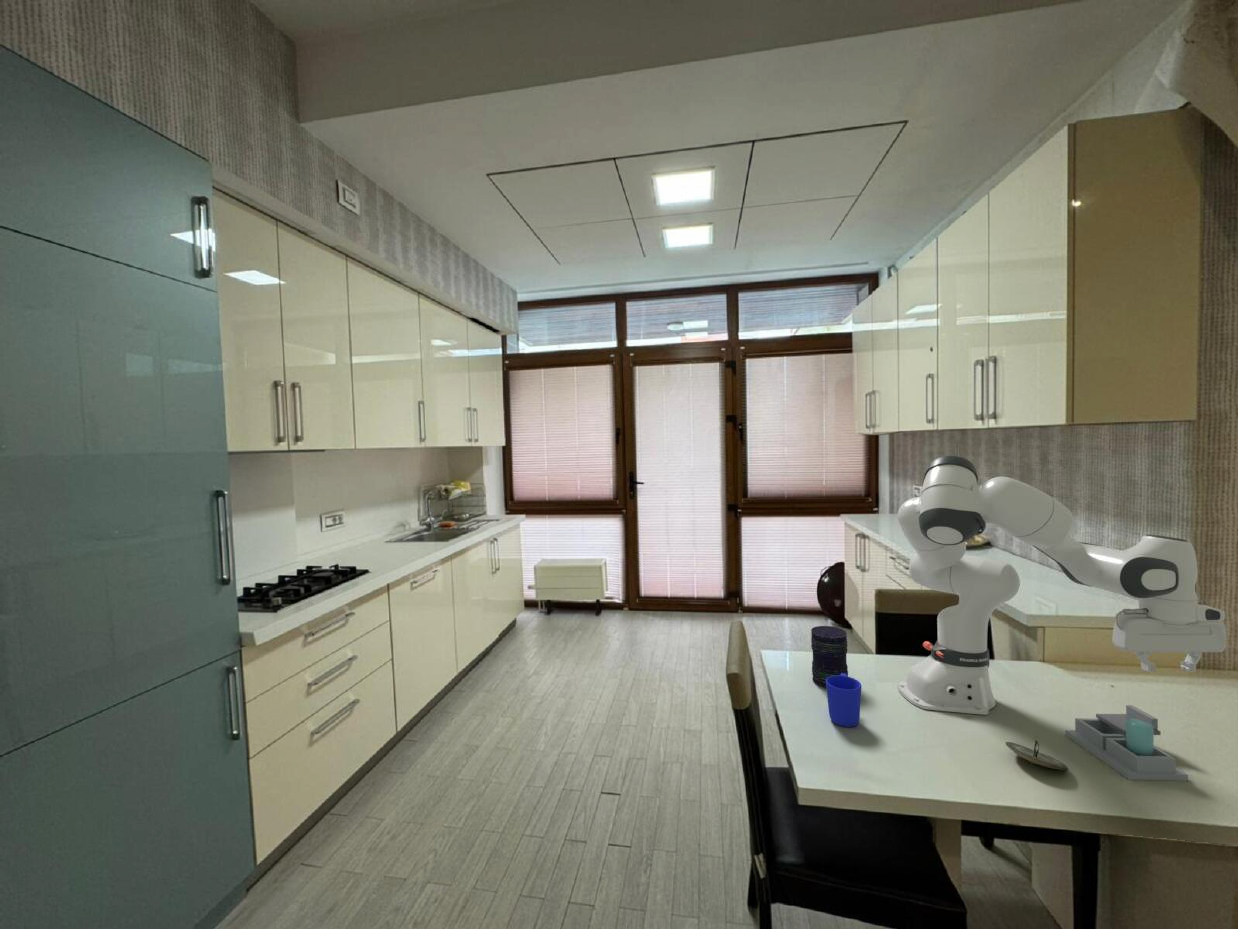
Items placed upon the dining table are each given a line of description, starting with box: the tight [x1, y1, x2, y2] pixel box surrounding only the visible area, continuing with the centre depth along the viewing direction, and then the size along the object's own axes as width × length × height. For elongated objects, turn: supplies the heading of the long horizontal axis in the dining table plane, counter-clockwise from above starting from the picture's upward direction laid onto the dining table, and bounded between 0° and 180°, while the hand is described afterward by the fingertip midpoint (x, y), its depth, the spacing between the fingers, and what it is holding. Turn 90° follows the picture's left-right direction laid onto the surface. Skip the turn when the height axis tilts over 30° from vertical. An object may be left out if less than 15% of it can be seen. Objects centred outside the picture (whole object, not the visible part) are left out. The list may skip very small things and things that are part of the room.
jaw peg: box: [1126, 718, 1155, 756], centre depth 105 cm, size 4×4×8 cm
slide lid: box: [1095, 704, 1161, 736], centre depth 113 cm, size 7×7×3 cm
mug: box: [825, 673, 862, 728], centre depth 128 cm, size 8×12×10 cm
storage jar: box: [810, 625, 849, 689], centre depth 148 cm, size 10×10×15 cm
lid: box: [1005, 740, 1069, 772], centre depth 107 cm, size 11×10×5 cm
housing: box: [1064, 717, 1189, 782], centre depth 109 cm, size 16×11×4 cm
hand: (1168, 670), depth 111 cm, fingers open, 7 cm apart
